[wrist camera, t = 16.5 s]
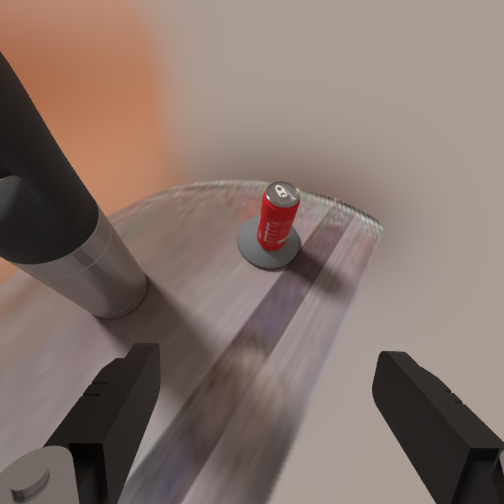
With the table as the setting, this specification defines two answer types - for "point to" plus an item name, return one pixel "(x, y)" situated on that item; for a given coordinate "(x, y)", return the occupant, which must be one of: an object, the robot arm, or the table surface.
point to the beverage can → (277, 214)
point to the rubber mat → (261, 256)
